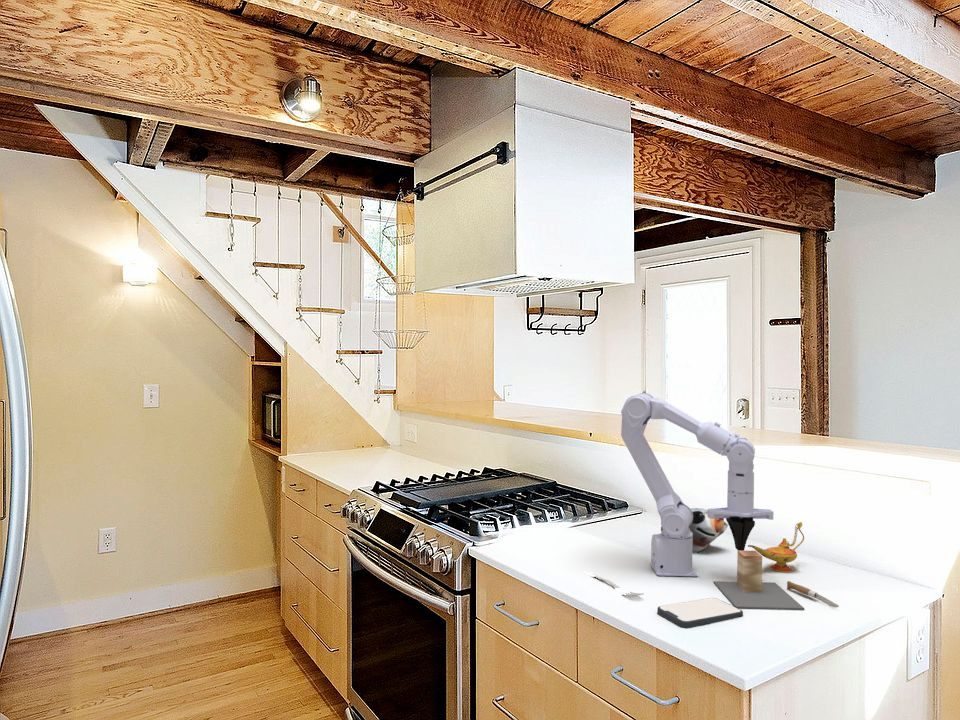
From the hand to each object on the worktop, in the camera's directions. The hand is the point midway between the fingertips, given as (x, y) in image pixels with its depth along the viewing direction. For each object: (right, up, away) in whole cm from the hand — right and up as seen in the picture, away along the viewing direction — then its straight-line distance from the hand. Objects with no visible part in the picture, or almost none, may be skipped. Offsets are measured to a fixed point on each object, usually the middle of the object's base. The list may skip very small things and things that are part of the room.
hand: (739, 549), depth 156 cm
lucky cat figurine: (-3, -7, +26) cm, 27 cm away
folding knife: (+11, -8, -11) cm, 18 cm away
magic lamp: (+12, -8, +8) cm, 16 cm away
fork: (-32, -8, -2) cm, 33 cm away
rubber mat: (0, -8, -9) cm, 12 cm away
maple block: (0, -7, -6) cm, 9 cm away
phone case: (-16, -8, -20) cm, 27 cm away
